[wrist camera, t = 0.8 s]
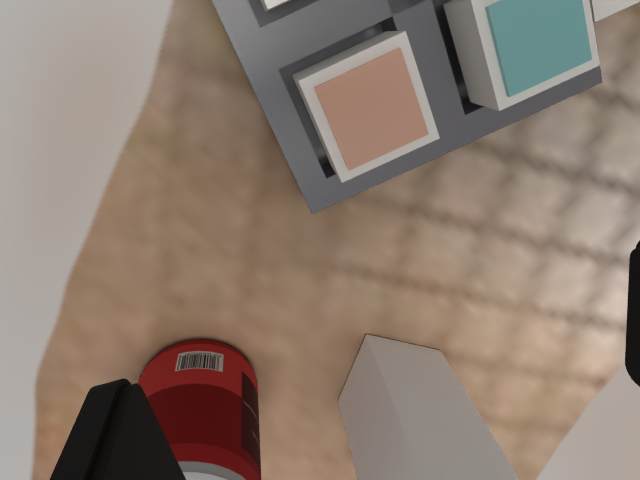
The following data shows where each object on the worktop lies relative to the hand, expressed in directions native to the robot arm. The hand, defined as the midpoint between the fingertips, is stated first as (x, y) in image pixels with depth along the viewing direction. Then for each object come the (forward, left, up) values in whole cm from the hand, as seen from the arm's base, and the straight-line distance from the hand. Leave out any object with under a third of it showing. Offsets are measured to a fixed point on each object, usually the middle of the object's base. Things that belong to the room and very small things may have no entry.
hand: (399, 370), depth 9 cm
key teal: (-12, -1, -18) cm, 21 cm away
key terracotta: (-4, -1, -18) cm, 18 cm away
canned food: (+13, +12, -21) cm, 27 cm away
